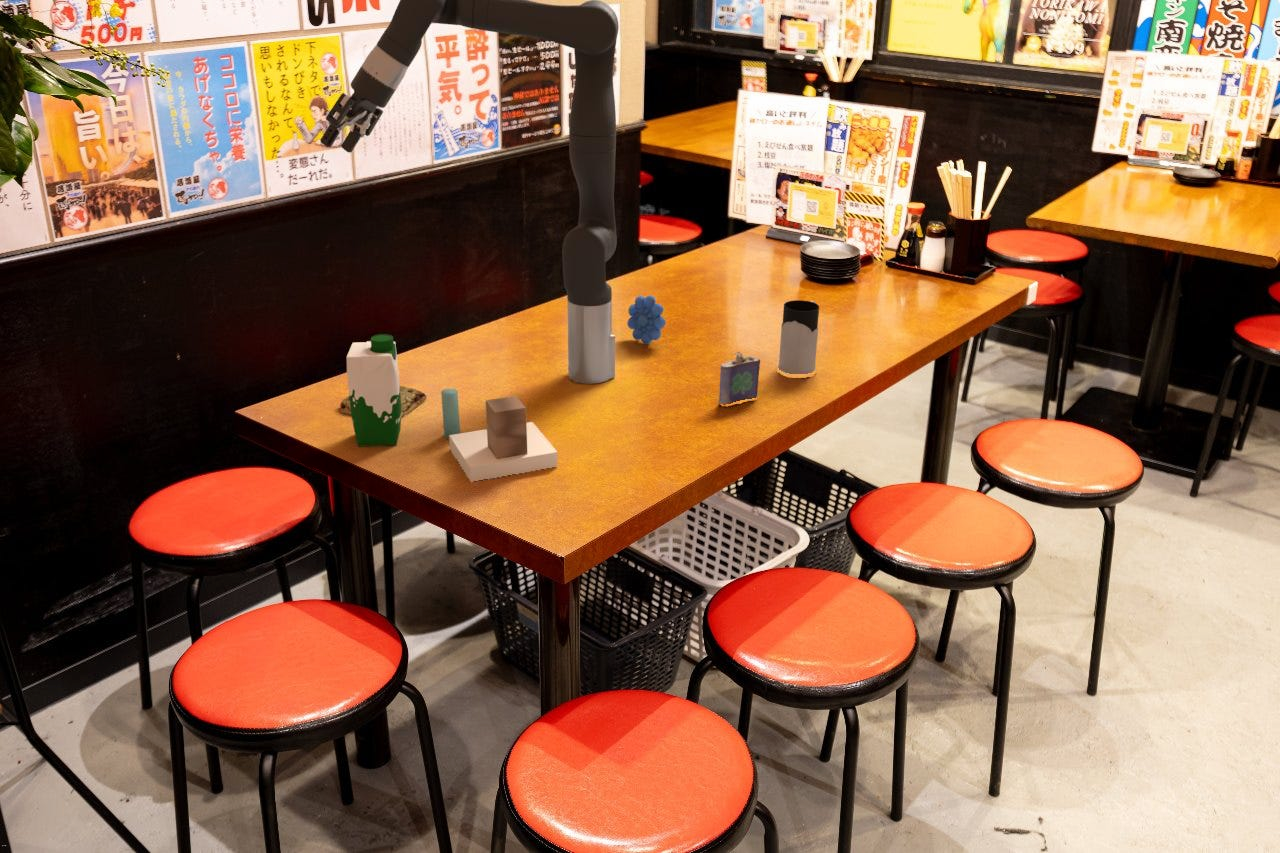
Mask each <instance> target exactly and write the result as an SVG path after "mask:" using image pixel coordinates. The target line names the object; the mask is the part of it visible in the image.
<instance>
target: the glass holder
mask: <svg viewBox="0 0 1280 853" xmlns="http://www.w3.org/2000/svg"><path fill="white" fill-rule="evenodd" d="M782 312H783V313H782V314H783V315H782V323H781V329H780V344H779V355H778V356H779V357H778V358H779V360H778V365H777V367H778V368H779V370H781V371H783V372H785V373H789V374H808V373H812V372H813V371H815V369H816V359H817V358H816V357H817V348H818V347H817V346H818V338H819V337H818V336H819V326H818V325H819V316H820V315H819V314H820V306H819V304H817V303H816V302H815V301H814V300H810V301H809V300H803V299H802V300H801V299H799V300H798V299H795V300H788V301H786V302H784V304H783V311H782Z"/></svg>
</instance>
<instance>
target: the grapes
mask: <svg viewBox="0 0 1280 853" xmlns="http://www.w3.org/2000/svg"><path fill="white" fill-rule="evenodd" d="M656 300H657V299H656V298H655V296H653V295H651V294H649V295H646V296H643V295H638V296H637V297H636V298H635V300H634V303H632V304H631V305H630V306H629V307H628V312H627V313H628V315H629V316H630V317H629V318H628V320H627V327H628V328H629V329H630V330H632V333H631V334H632V338H633V339H634V340H636V341H641V343H642V344H644V345H646V344H647V345H650V344H651V343H652V342H653V341H658V340H659V339H660V338H661V335H662V331H661V330H662V329H664V327H665V325H666V319H665V318H664V316H661V315H663V313H664V306H663V305H662V304H660V303H657V301H656ZM649 343H650V344H649Z"/></svg>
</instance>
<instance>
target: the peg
mask: <svg viewBox="0 0 1280 853" xmlns="http://www.w3.org/2000/svg"><path fill="white" fill-rule="evenodd" d="M440 393H441V394H440V395H441V408H442V423H443V437H444V438H446V439H448V440H449V435H454V434H460V433H461V428H460V411H459V410H460V409H459V392H458V389H455V388H444V389H443V390H441V392H440Z"/></svg>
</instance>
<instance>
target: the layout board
mask: <svg viewBox="0 0 1280 853" xmlns="http://www.w3.org/2000/svg"><path fill="white" fill-rule="evenodd" d="M526 425H527V454H525V455H519V456H513V457H508V458H502V459H496V457H495V456H494V454H493V453H492V452H491V450H490V449H489V447H488V440H487V428H485V429H480V430H473V431H467V432H460V434H454V435H449V439H448V440H449V450H451V451H450V453H451V454H452V455H453V457H454V458H455V460H456V459H457V460H456V461H458V462H459V463H458V462H457V463H458V465H459V464H460V465H459V467H460V468H461V467H462V468H461V469H462V471H463V470H464V471H463V472H465V473H466V474H465V473H464V474H465V476H466V475H467V476H468V477H467V476H466V477H467V478H469V479H470V480H469V479H468V480H469V482H470V481H477V482H479V481H478V480H483V479H488V480H492V478H494V479H497V477H499V478H503V477H502V476H505V477H507V476H506V475H511V476H513V475H512V474H516V475H520V474H519V473H522V474H526V473H525V472H527V473H531V472H530V471H533V472H536V471H535V470H538V471H541V470H540V469H544V470H547V469H546V468H550V469H553V468H552V467H555V468H557V467H556V466H559V465H558V464H559V463H558V459H559V458H558V451H557V450H556V449H555V447H554V446H553V445H552V443H551V442H550V440H548V439H547V437H545V435H544V434H543V433H542V431H540V430H539V428H538V427H537V426H536V424H535V423H534V422H533V421H530V422H526ZM490 478H491V479H490ZM483 481H484V480H483Z"/></svg>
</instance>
